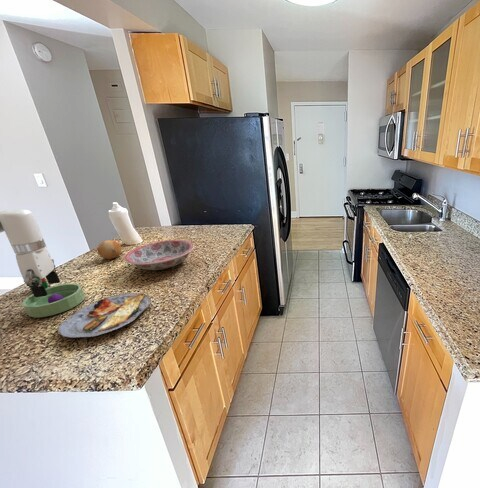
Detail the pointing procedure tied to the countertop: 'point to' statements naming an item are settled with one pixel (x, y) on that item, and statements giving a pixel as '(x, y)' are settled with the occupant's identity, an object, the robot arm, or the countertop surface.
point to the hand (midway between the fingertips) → (48, 289)
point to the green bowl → (42, 308)
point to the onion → (109, 249)
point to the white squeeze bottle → (123, 225)
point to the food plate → (104, 315)
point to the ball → (54, 298)
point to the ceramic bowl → (160, 254)
